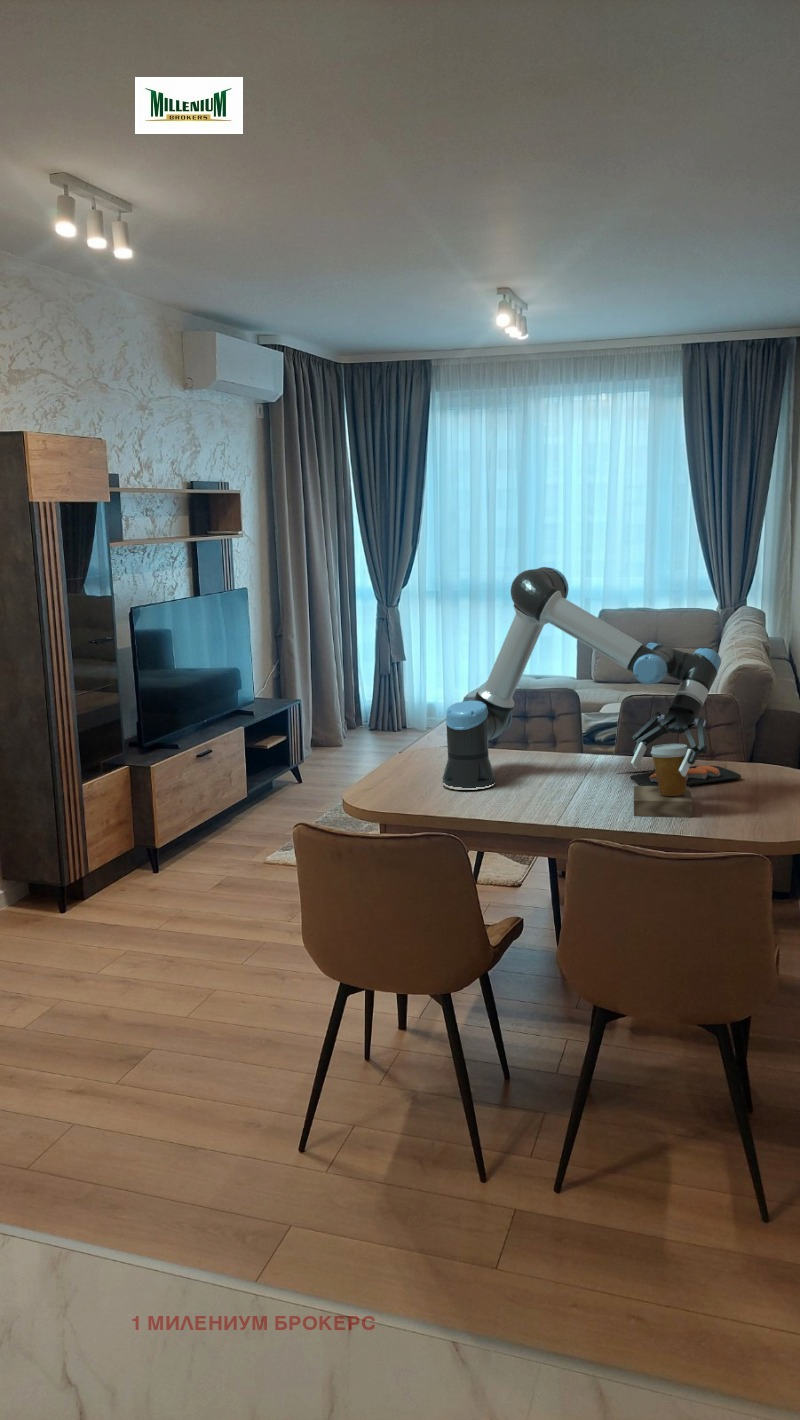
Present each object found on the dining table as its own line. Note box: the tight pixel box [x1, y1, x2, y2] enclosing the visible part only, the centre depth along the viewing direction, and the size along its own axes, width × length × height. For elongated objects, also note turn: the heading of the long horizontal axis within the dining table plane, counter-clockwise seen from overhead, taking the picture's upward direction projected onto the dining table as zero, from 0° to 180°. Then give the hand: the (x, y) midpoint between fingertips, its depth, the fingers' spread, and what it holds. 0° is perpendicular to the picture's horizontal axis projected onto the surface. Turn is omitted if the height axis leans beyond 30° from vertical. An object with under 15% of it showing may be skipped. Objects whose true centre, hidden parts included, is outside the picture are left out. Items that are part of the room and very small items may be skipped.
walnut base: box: [633, 785, 693, 818], centre depth 252 cm, size 14×14×4 cm
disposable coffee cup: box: [650, 743, 689, 796], centre depth 250 cm, size 10×10×12 cm
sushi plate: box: [616, 765, 742, 786], centre depth 285 cm, size 29×30×4 cm
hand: (657, 769), depth 249 cm, fingers open, 13 cm apart
